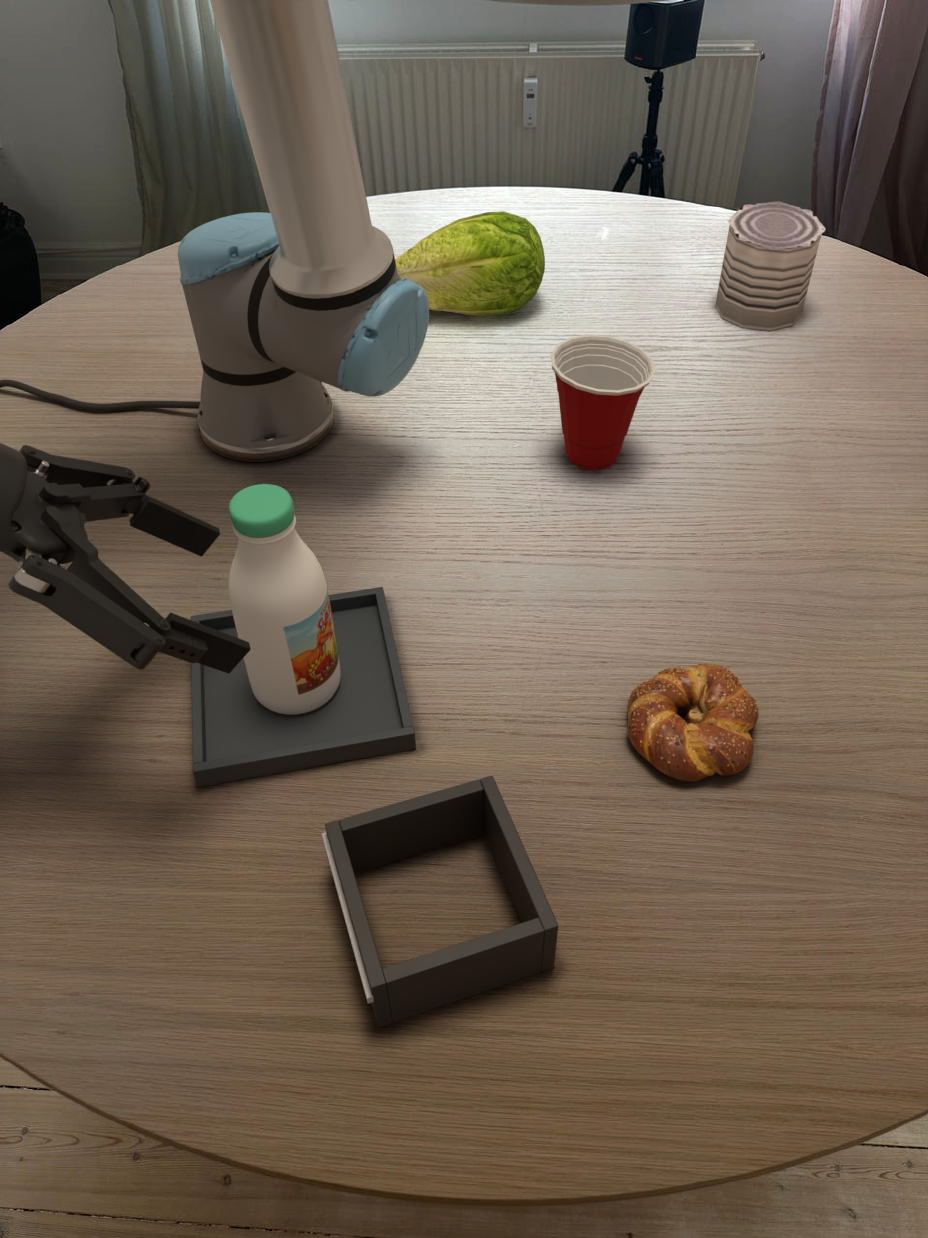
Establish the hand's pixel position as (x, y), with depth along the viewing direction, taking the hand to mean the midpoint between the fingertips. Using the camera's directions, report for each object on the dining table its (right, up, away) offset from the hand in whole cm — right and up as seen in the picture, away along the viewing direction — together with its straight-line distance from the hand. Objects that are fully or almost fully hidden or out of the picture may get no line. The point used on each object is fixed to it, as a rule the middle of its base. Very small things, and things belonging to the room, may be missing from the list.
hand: (224, 597), depth 76 cm
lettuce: (+18, +40, +57) cm, 72 cm away
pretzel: (+37, -11, +6) cm, 39 cm away
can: (+58, +39, +55) cm, 89 cm away
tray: (+4, -8, +10) cm, 13 cm away
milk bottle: (+4, -7, +9) cm, 13 cm away
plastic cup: (+33, +16, +33) cm, 49 cm away
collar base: (+17, -23, -6) cm, 29 cm away
